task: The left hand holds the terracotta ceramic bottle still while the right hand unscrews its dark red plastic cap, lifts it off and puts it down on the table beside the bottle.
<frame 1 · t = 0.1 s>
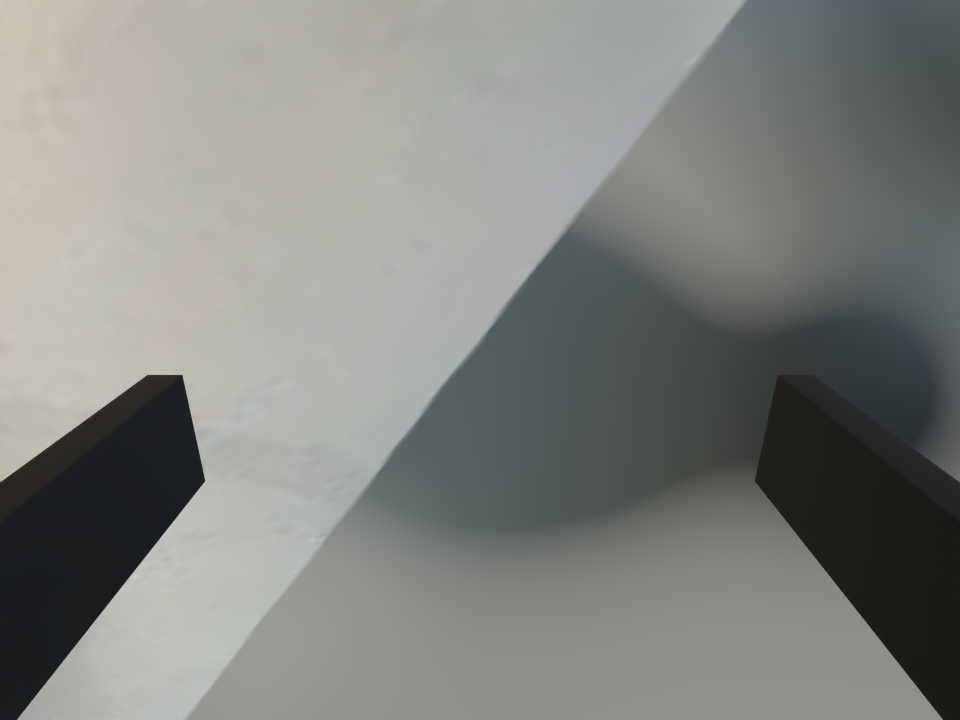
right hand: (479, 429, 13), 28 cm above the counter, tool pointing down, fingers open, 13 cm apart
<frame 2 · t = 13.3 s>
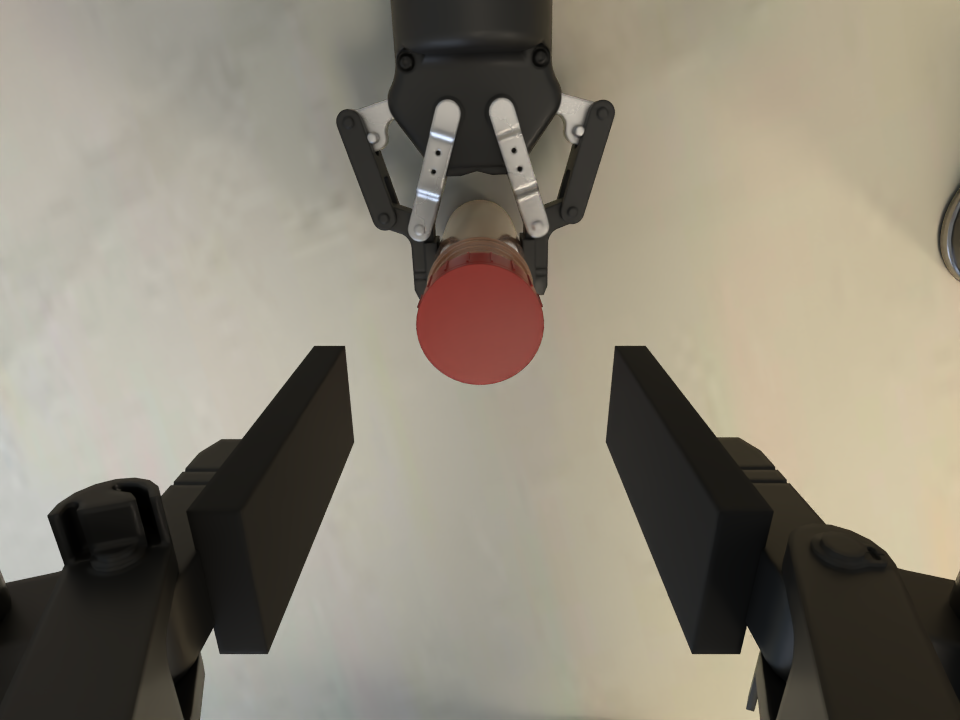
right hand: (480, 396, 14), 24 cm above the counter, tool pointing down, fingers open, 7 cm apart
left hand: (481, 302, 32), fingers closed on bottle, 4 cm apart
bottle: (480, 235, 37), on the counter, touching left hand
cap: (480, 324, 20), point 18 cm above the counter, screwed on, not yet turned
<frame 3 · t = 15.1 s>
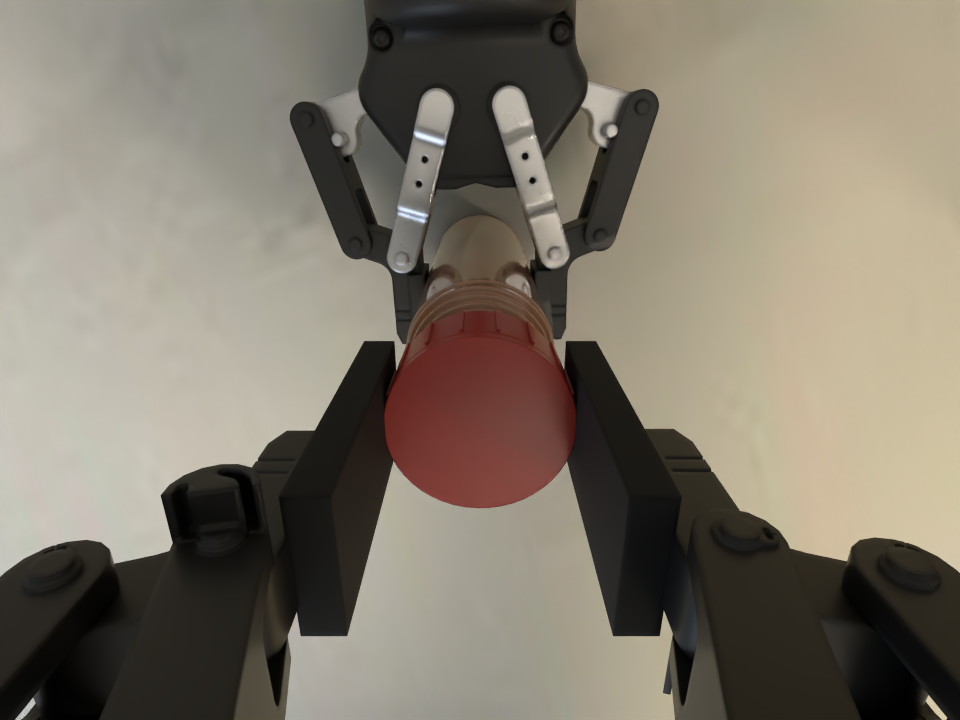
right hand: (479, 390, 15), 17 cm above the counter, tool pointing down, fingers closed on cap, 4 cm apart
left hand: (481, 346, 25), fingers closed on bottle, 4 cm apart
bottle: (480, 258, 30), on the counter, touching left hand
cap: (480, 422, 13), point 18 cm above the counter, screwed on, not yet turned, touching right hand
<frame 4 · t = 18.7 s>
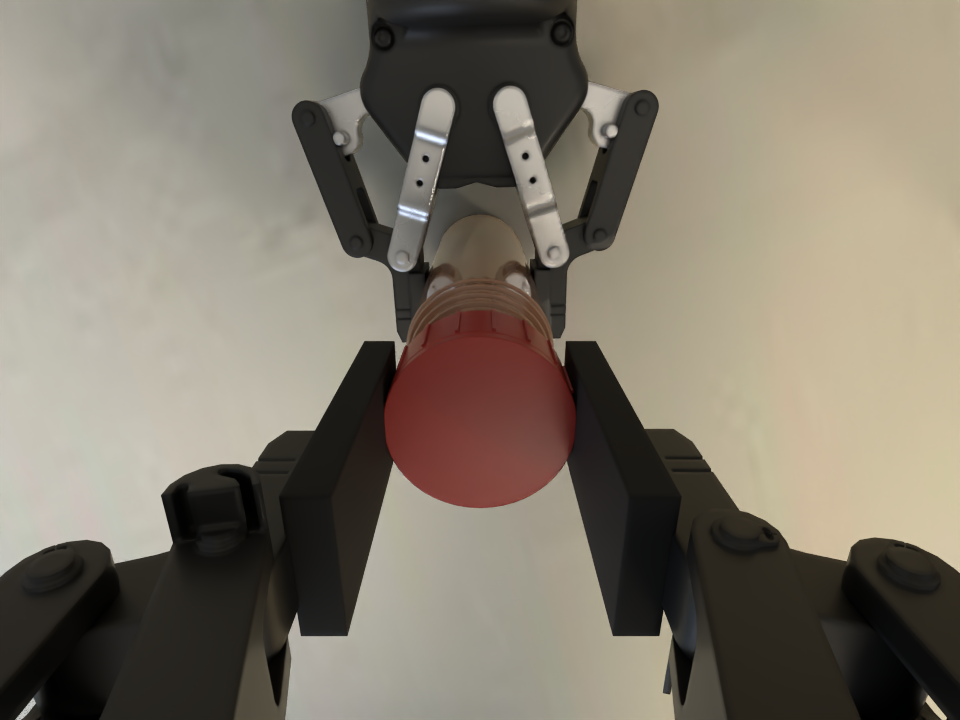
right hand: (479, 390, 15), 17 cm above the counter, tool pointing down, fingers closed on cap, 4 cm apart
left hand: (480, 345, 25), fingers closed on bottle, 4 cm apart
bottle: (480, 257, 30), on the counter, touching left hand
cap: (480, 421, 13), point 18 cm above the counter, turned 130° so far, risen 0.1 cm, still on its thread, touching right hand
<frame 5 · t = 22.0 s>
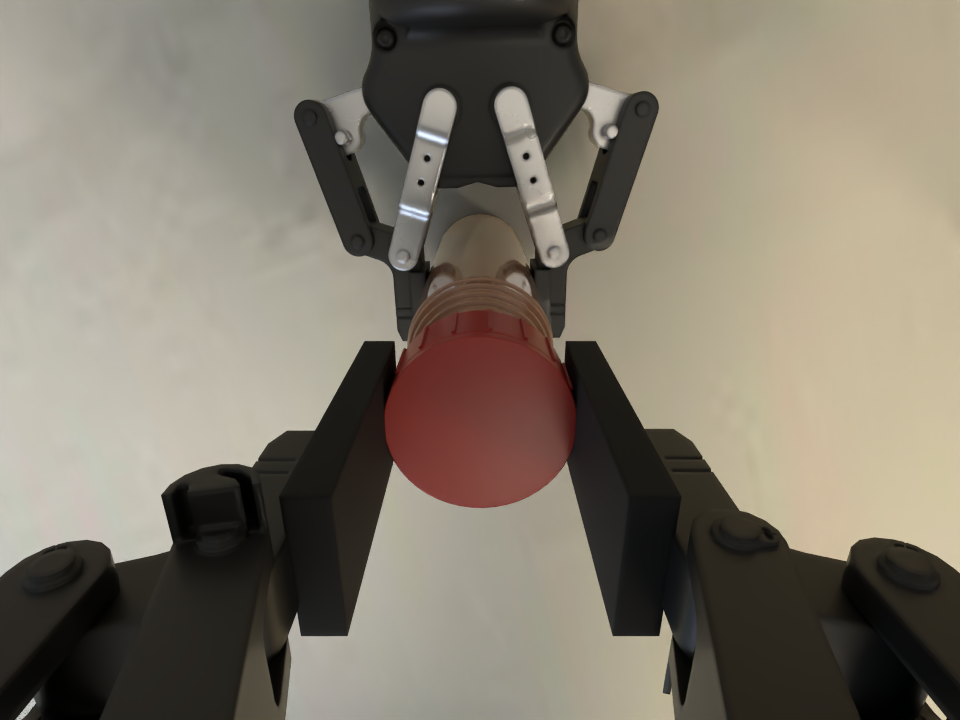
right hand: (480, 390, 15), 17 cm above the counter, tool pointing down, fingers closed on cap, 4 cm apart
left hand: (480, 344, 25), fingers closed on bottle, 4 cm apart
bottle: (480, 257, 30), on the counter, touching left hand
cap: (480, 421, 13), point 19 cm above the counter, turned 259° so far, risen 0.3 cm, still on its thread, touching right hand
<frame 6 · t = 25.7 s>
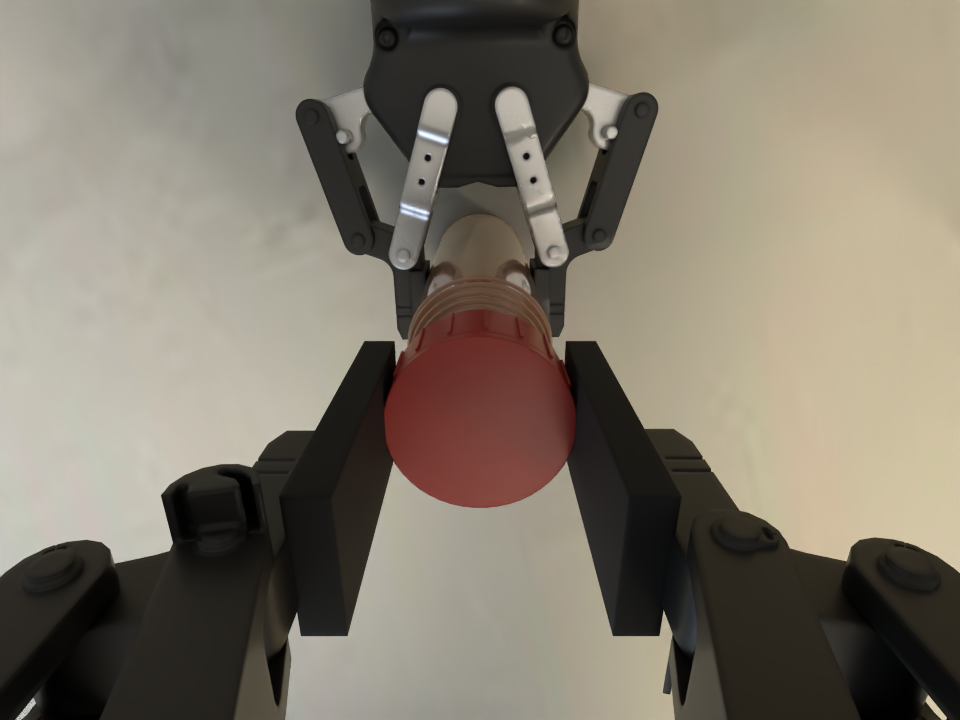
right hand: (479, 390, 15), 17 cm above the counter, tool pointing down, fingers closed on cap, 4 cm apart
left hand: (480, 343, 26), fingers closed on bottle, 4 cm apart
bottle: (480, 256, 30), on the counter, touching left hand
cap: (479, 421, 13), point 19 cm above the counter, turned 389° so far, risen 0.4 cm, still on its thread, touching right hand
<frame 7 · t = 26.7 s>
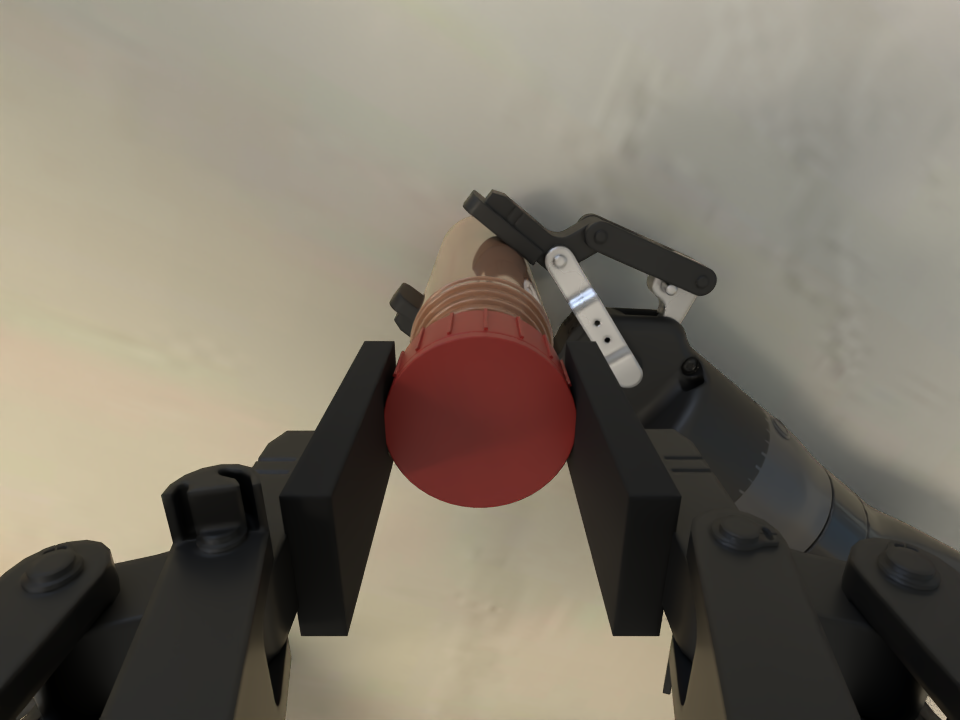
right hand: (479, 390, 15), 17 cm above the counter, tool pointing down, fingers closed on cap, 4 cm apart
left hand: (433, 247, 24), fingers closed on bottle, 4 cm apart
bottle: (481, 257, 31), on the counter, touching left hand
cap: (480, 421, 13), point 19 cm above the counter, off its thread, touching right hand
when the right hand's fingers open (1 cm above the counter, at t = 31.9 s): cap stays where it is, point 2 cm above the counter.
when the left hand's fingers open (6 cm above the counter, at t = 33.1 s): bottle stays where it is, on the counter.
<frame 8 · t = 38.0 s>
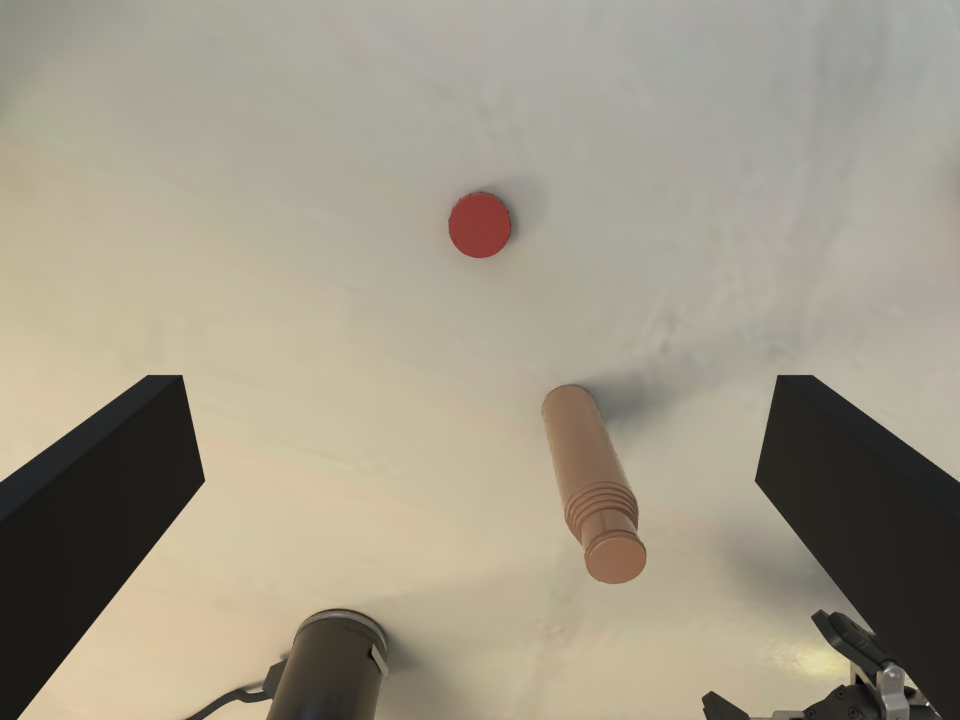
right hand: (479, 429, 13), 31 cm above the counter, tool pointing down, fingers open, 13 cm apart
bottle: (568, 409, 48), on the counter
cap: (479, 226, 40), point 2 cm above the counter, off its thread
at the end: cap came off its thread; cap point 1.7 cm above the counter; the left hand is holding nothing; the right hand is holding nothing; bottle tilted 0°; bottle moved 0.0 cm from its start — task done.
